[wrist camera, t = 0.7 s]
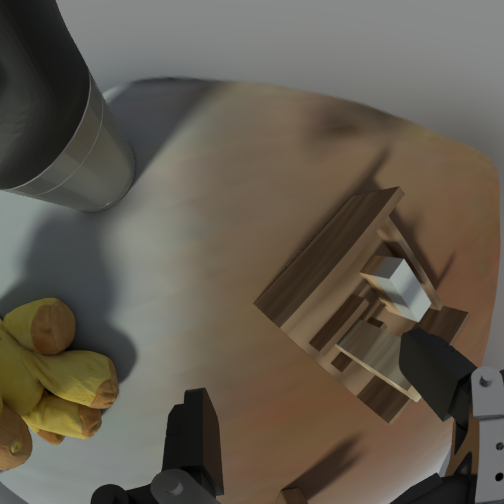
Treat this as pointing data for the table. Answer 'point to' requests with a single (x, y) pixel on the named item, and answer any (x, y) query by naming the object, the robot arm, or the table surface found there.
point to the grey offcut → (403, 288)
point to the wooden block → (291, 497)
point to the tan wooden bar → (377, 354)
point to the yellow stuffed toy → (48, 380)
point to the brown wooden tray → (353, 296)
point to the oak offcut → (368, 276)
